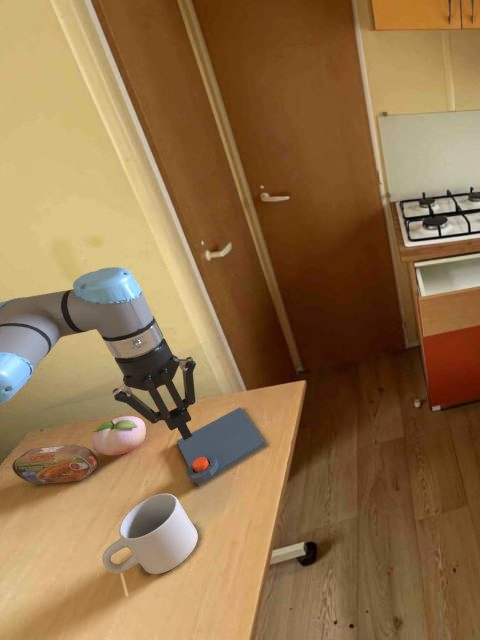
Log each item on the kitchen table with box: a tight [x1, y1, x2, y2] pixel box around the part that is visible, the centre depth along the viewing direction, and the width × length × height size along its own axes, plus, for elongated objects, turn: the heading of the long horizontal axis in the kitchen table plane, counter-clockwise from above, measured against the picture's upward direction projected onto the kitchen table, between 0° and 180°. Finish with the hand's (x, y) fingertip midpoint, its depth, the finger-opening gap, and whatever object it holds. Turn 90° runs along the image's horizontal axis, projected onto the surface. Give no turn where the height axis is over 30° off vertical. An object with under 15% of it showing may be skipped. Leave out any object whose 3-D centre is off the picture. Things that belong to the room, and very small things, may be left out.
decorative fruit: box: [92, 415, 147, 456], centre depth 98 cm, size 9×8×10 cm
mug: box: [101, 493, 199, 575], centre depth 77 cm, size 12×8×11 cm
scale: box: [176, 406, 267, 487], centre depth 100 cm, size 15×17×3 cm
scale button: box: [192, 457, 209, 472], centre depth 93 cm, size 3×3×2 cm
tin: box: [11, 444, 99, 485], centre depth 92 cm, size 15×3×8 cm, turn 95°
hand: (186, 434), depth 88 cm, fingers closed
